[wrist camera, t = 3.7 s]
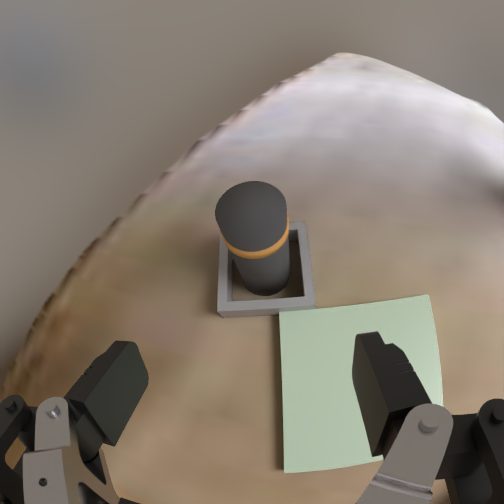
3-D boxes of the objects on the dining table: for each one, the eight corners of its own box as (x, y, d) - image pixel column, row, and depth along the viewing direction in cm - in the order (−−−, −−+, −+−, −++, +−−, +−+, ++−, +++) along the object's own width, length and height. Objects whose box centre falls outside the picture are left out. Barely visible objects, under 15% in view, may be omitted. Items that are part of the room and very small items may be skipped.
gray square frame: (304, 232, 27) (305, 221, 25) (313, 311, 23) (315, 304, 21) (224, 239, 28) (220, 229, 26) (223, 317, 24) (217, 311, 22)
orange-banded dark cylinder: (289, 249, 26) (284, 176, 18) (293, 294, 24) (291, 236, 15) (241, 253, 27) (215, 184, 18) (241, 298, 25) (211, 243, 16)
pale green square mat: (425, 297, 22) (428, 294, 21) (439, 439, 15) (443, 440, 15) (279, 314, 24) (279, 311, 23) (284, 470, 17) (284, 473, 16)
